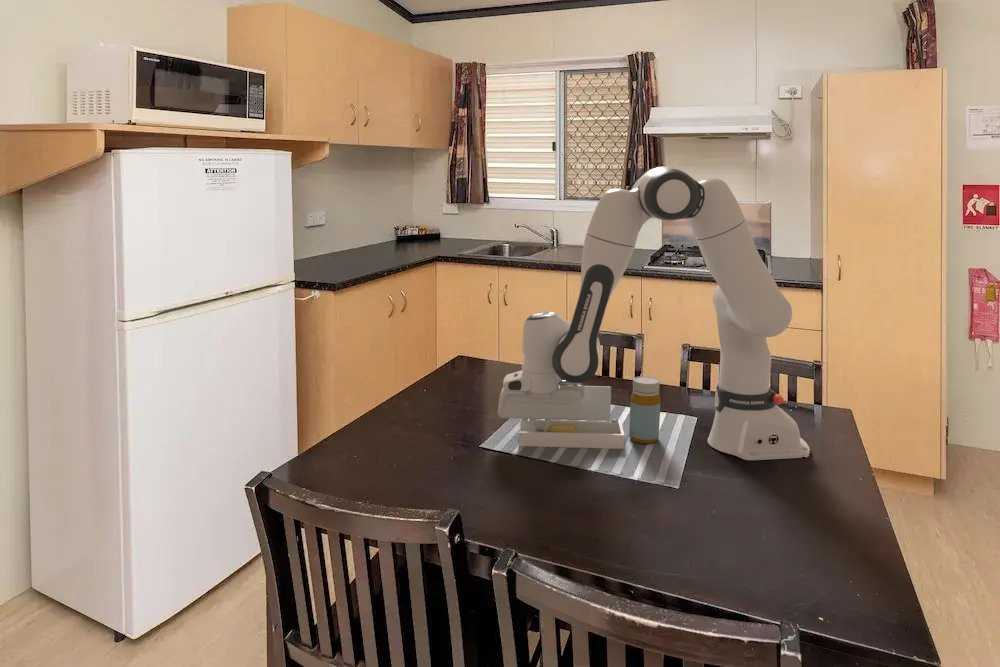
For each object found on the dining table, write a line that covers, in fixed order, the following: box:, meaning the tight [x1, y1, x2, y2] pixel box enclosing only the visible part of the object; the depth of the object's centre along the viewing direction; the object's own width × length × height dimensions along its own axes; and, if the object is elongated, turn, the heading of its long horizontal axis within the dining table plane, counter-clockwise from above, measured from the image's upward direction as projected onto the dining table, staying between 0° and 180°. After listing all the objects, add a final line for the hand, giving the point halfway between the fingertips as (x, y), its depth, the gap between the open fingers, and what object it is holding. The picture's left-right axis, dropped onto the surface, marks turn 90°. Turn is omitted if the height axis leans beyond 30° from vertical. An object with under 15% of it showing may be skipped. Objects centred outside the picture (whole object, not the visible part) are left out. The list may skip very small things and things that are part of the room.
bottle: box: [628, 375, 661, 445], centre depth 168 cm, size 7×7×15 cm
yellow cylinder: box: [546, 425, 575, 433], centre depth 170 cm, size 7×3×3 cm
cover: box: [551, 385, 612, 422], centre depth 173 cm, size 20×8×1 cm
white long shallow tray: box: [518, 418, 625, 450], centre depth 169 cm, size 25×9×4 cm, turn 85°
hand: (540, 435), depth 168 cm, fingers closed
